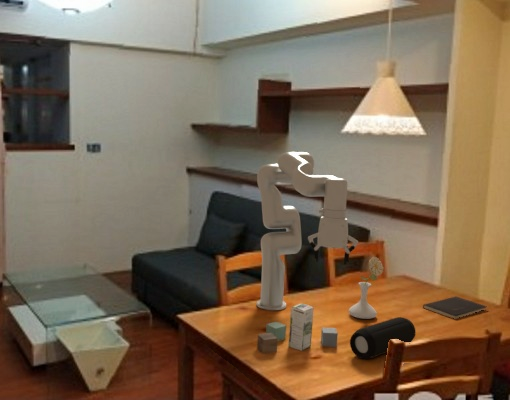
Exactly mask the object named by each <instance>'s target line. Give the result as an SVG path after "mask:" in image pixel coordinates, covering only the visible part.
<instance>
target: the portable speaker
mask: <svg viewBox="0 0 510 400" xmlns="http://www.w3.org/2000/svg"><path fill="white" fill-rule="evenodd" d="M416 333H417V332H416V327H415V325H414V324H413V322H412V321H411V320H409V319H408V318H405V317H401V316H400V317H395V318H390V319H388V320H384V321H381V322H377V323H375V324H371V325H368V326H365V327H362V328H358V329H357V330H356V331H354V333H353V334H352V335H351V336H350V339H349V346H350V349H351V351H352V353H353V354H354V355H355V356H356V357H357V358H361V359H364V360H370V359H372V358H375V357H377V356H380V355H383V354H385V353H388V352H387V348H388V342H389V340H390V339H399V340H401V341H404V342H411V343H412V342H413V340H414V339H415V337H416Z"/></svg>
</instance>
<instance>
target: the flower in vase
mask: <svg viewBox="0 0 510 400" xmlns="http://www.w3.org/2000/svg"><path fill="white" fill-rule="evenodd" d="M368 269H369V271H370V272H369V275H368V277H364V276H362V275H361V277H360V279H361V280H363V281H360V282H358V285H359V287H360V294H361V295H360V300H359V301H358V302H357V303H355V304H353V305H352V306H351V307H349V309H348V313H349V314H350V315H351V316H352V317H355V318H357V319H362V320H363V319H364V320H368V319H373V318H376V316H377V315H378V314H377V311H376V309H375V308H374V307H373V306H372V305H371V304H369V303H368V301H367V299H368V298H367V296H368V291H369V288H370V287H371V286H372V283H371V282H368V280H369V279H371V281H375V280H378V277H379V276H380V275H382V274H383V272H384V266H383V263H382V261H381V260H380V259H379V258H378V257H377V256H372V257H371V259H369V261H368Z"/></svg>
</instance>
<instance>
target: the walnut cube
mask: <svg viewBox="0 0 510 400" xmlns="http://www.w3.org/2000/svg"><path fill="white" fill-rule="evenodd" d="M277 339H278V338H277V337H276V336H274V335H273V334H272V333H266V332H265V333H259V334H257V344H256V345H257V346H256V349H257V350H258V351H260V352H261V354H263V355H266V354H272V353H277V352H278V341H277Z"/></svg>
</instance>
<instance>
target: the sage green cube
mask: <svg viewBox="0 0 510 400" xmlns="http://www.w3.org/2000/svg"><path fill="white" fill-rule="evenodd" d="M265 326H266V327H265V331H266V332H265V333H272V334H273V335H274V336H276V337H277V338H278V339H277V342H279V341H283V340H285V339H286V337H287V336H286V335H287V333H286V332H287V325H286V324H283V323H282V322H279V321H273V322H269V323H266V324H265Z"/></svg>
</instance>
